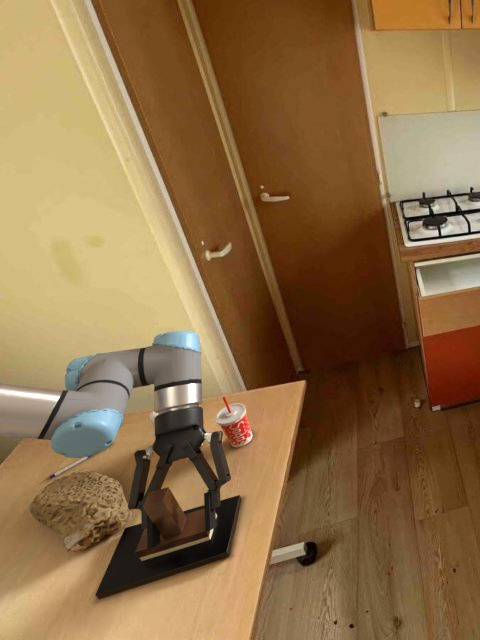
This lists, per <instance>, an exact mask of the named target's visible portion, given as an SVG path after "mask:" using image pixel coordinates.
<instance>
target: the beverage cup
mask: <svg viewBox="0 0 480 640" xmlns="http://www.w3.org/2000/svg"><path fill="white" fill-rule="evenodd" d="M222 400H223V402H224V404H225V407H223V408H221V409H220V410H219V411H218V412H217V413H216V415H215V417H214V418H215V422H216V424H217V425H218V426H219V427H220V428H221V431H222V432H223V434H224V435H225V437H226V439H227V440H228V443H229V444H230V446H231V447H233V448H241V447H244V446H245V445H247V444H249V443H250V442H251V441H252V439H253V432H252V429H251V425H250V421H249V418H248V415H247V407H246V405H245V404H244V403H239V402H237V403H231V404H229V403H228V401H227V398H226V396H223V397H222Z"/></svg>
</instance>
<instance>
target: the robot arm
mask: <svg viewBox="0 0 480 640" xmlns="http://www.w3.org/2000/svg"><path fill="white" fill-rule="evenodd" d="M152 341H153V342H152V343H151V345H149V346H146V347H140V348H139V347H137V348H130V349H124V350H116V351H109V352H97V353H95V354H91V355H85V356H79V357H76V358H74V359H72V360H71V361H70V362H68V364H67V367H66V369H65V374H64V386H65V389H59V388H50V387H43V386H35V385H28V384H27V385H26V384H20V383H13V382H12V383H11V382H4V381H0V437H4V438H5V437H7V438H17V439H18V438H19V439H32V440H33V439H36V440H44V441H50V446H51V449H52V450H53V451H54V453H56V454H59V455H62V456H64V457H65V458H69V459H82V458H83V457H87V456H91V455H93V456H95V455H97V454H99V453H101V452H103V451H104V450H106V449H108V446H109V445H112V443H113V442H114V441H115V439H116V438H117V435H118V433H119V430H120V428H121V427H122V425H123V422H124V416H125V413H126V409H127V406H128V403H129V400H130V397H131V395H132V391H133V389H137V388H142V387H148V386H151V385H153V393H154V395H153V397H154V398H153V399H154V400H153V401H154V403H153V410H154V412H156V413H158V414H159V415H157V416H156V417H155V437H154V442H153V444H152V446H149V447H146V448H143V449H138V450H136V451H135V452H134V454H133V456H134V462H135V467H134V471H133V472H134V473H133V476H132V477H133V478H132V482H131V487H130V492H129V498H128V502H127V504H128V510H139V511H140V516H141V519H140V523H141V527H142V529H146V528H147V550H148V549H151V548H154V547H155V546H157V545H159V544H160V533H159V531H158V530H157V528H156V527H155V525H154V524H153V522H152V521H151V519H150V517H149V516H148V514H147V513H146V511H145V510H144V508H143V506H144V504H145V501H146V499H147V496H148V494H149V492H152V491H156V490H159V489H162V488H163V485H164V482H165V480H166V478H167V475H168V474H169V471H170V469H171V467H172V466H173V464H174V462H179V461H181V460H185V459H188V460H189V461H190V463H192V464H193V466H194V468H195V470H196V471H197V473H198V474H199V476H200V478H201V479H202V481H203V483H204V485H205V486H206V487H207V492H204V493H203V505H204V509H205V532H207V531H210V530H212V529H213V528H215V527H216V513H215V508H217V507H219V506H220V504H221V500H222V499H221V488H222V486H224V485H225V484H227V483H229V482H230V481H231V479H232V476H231V471H230V468H229V464H228V461H227V457H226V454H225V453H226V452H225V450H224V446H223V438H224V437H223V436H224V432H223V430H216V431H212V432H207V431H206V430H205V428H204V423H205V422H204V408H203V407H202V406H200V405H201V404H203V401H204V399H203V383H202V382H203V381H202V377H203V376H202V352H201V343H200V336H199V334H198V333H196V332H195V331H192V330H174V331H167V332H163V333H159V334H157V335H156V336H154V337H153V340H152ZM205 440H206V442H207V444H209V448H210V452H211V456H212V459H213V464H214V468H215V471H216V473H215V472H214V470H213V468H212V467H211V465H210V463H209V462H208V460H207V459H206V457H205V453H204V451H203V450H202V448H201V447H202V446H203V445H202V443H203V444H204V442H205ZM201 445H202V446H201ZM109 447H110V446H109ZM154 453H155V454H156V455H157V456H158V457H159V458H158V460H157V462H156V465H155V471H154V473H153V475H152V477H151V480H150V482H149V485H148V486H147V483H148V479H149V473H150V468H151V463H152V462H151V461H152V460H151V459H153V457H154ZM91 457H92V456H91Z"/></svg>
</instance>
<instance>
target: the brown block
mask: <svg viewBox="0 0 480 640" xmlns="http://www.w3.org/2000/svg"><path fill="white" fill-rule="evenodd" d="M143 508H144V510H145V511H146V513H147V514H148V516H149V517H150V519H151V521H152V522H153V524H154V525H155V527H156V528H157V530H158V531H159V533H160V544H159V545H157V546H155V547H154V548H151V549H148V550H147V528H146V529H144V531H143V534H142V536H141V539H140V541H139V544H138V546H137V549H136V551H135V552H136V554H137V555H138V556H139V558H140V559H141V561H144V560H147V559H150V558H153V557H157V556H160V555H163V554H166V553H170V552H173V551H176V550H179V549H182V548H186V547H189V546H192V545H195V544H198V543H202V542H205V541H208V540H211V536H212V532H213V529H214V528H213V529H212V530H210V531H207V532H205V509H201V510H198V511H194V512H191V513H187V514H184V512H183V511H184V510H183V508H182V507H181V505H180V503H179V502H178V500H177V498H176V497H175V495H174V494H173V492H172V490H171V488H170V486H167V487H164V488H163V487H162V488H161V489H159V490H156V491H152V492H149V494H148V496H147V499H146V501H145V504H144V506H143ZM215 513H216V512H215ZM216 517H217V514H216Z"/></svg>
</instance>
